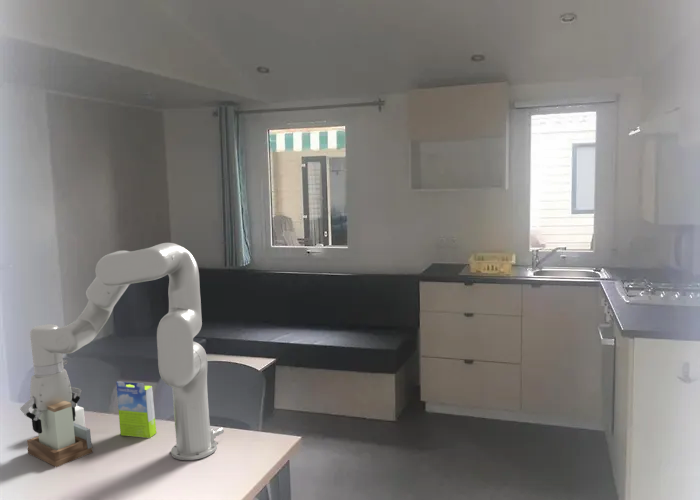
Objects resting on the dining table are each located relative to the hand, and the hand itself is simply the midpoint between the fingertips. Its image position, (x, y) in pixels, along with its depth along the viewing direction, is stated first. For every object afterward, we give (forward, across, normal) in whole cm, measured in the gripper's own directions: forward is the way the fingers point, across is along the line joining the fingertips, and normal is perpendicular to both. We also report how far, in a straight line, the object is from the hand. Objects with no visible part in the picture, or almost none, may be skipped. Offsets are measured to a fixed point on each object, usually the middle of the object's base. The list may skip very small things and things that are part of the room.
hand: (55, 426), depth 176 cm
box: (+8, -20, +9) cm, 24 cm away
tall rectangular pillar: (+7, 0, 0) cm, 7 cm away
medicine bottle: (+8, -10, -13) cm, 19 cm away
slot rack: (+8, 0, 0) cm, 8 cm away
